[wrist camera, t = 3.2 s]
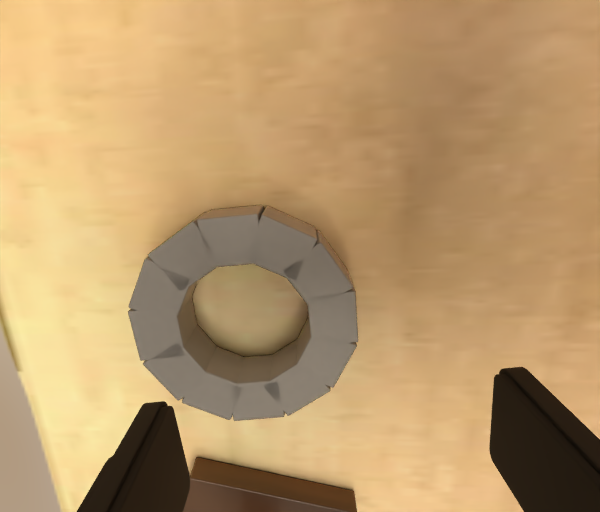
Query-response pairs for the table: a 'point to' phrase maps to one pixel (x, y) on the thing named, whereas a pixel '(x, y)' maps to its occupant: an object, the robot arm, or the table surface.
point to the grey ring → (224, 364)
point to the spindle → (259, 491)
